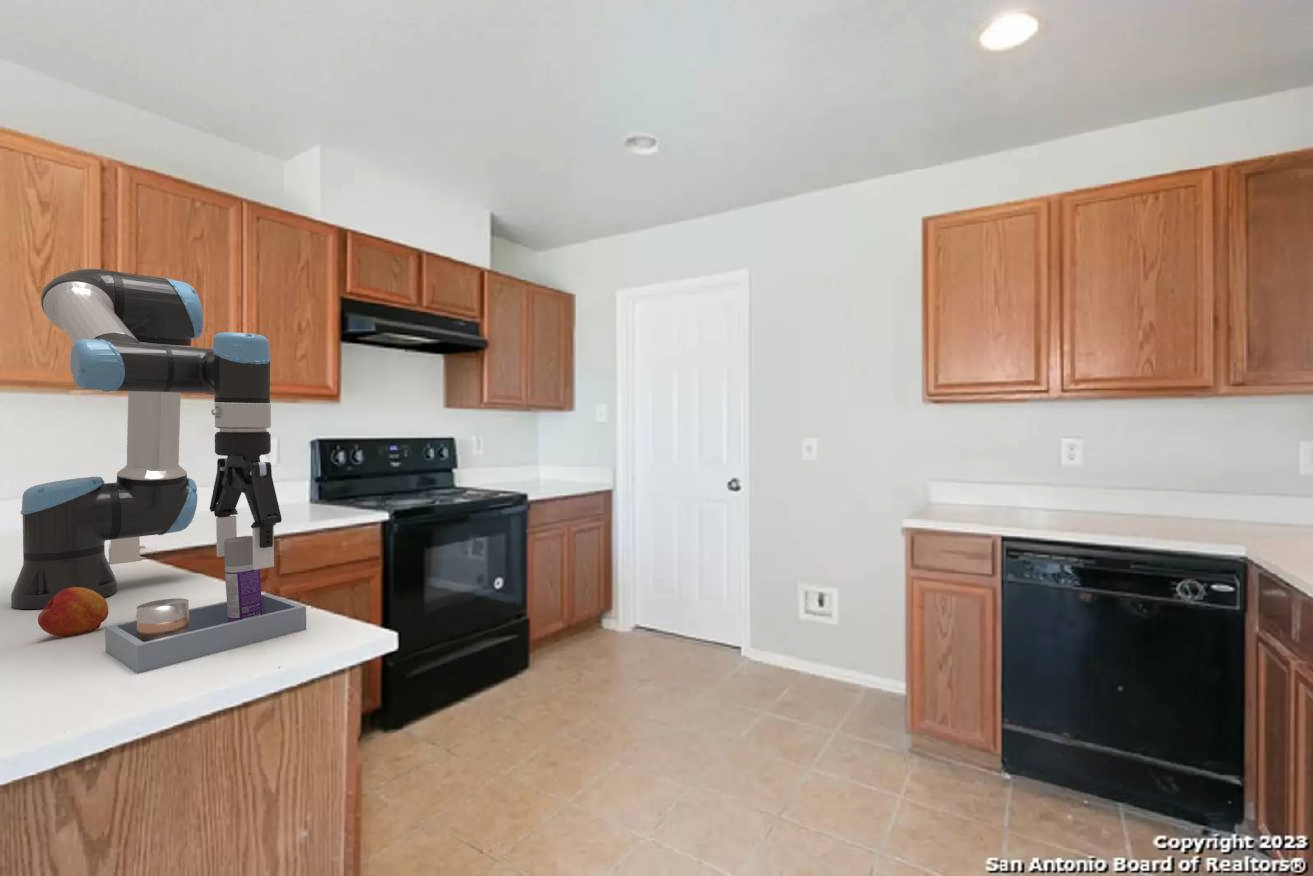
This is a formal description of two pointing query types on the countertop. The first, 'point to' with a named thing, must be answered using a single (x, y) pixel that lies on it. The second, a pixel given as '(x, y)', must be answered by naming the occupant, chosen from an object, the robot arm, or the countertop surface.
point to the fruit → (73, 612)
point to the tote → (204, 634)
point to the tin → (162, 619)
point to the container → (241, 579)
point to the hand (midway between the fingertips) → (244, 561)
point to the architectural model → (124, 550)
